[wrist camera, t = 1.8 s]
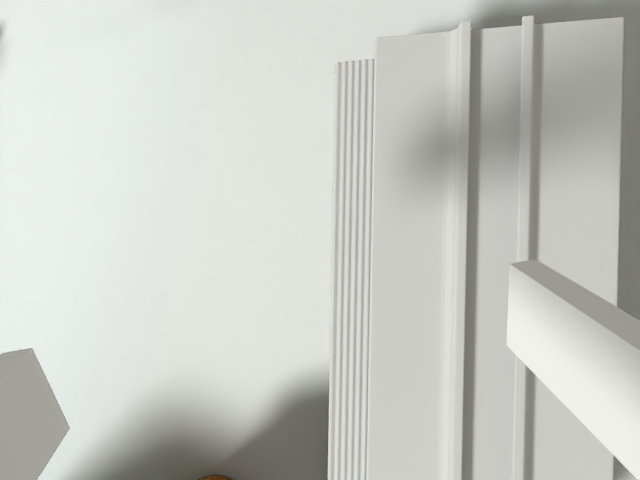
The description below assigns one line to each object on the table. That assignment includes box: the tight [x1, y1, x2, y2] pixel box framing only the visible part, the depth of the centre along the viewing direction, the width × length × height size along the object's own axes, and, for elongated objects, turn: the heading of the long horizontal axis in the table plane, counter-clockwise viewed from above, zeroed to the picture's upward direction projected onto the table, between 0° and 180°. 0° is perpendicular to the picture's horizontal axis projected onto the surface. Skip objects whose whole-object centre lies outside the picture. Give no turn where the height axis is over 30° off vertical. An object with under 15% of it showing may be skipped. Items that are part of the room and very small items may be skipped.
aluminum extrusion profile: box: [328, 16, 624, 480], centre depth 24 cm, size 14×31×10 cm, turn 179°
